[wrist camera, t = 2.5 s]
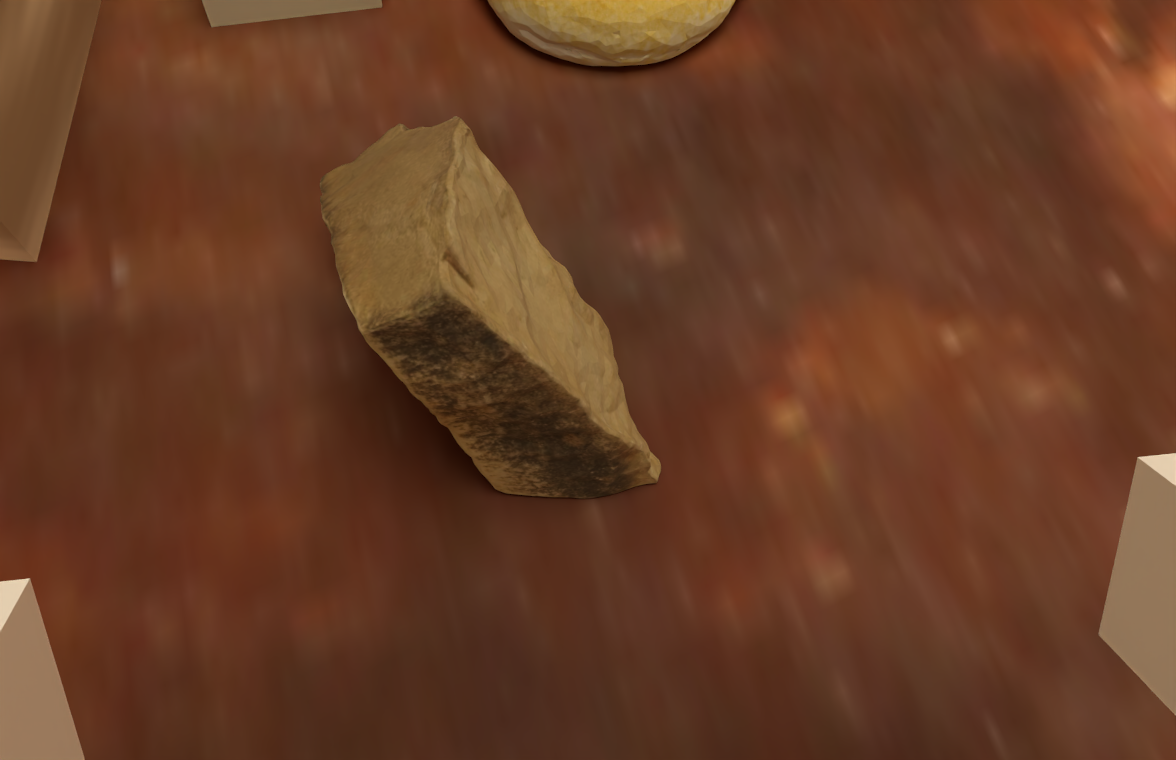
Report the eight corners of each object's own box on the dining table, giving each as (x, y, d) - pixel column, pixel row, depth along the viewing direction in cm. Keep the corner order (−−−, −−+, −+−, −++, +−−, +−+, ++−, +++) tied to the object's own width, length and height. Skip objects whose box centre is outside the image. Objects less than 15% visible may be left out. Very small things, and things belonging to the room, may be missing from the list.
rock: (225, 114, 27) (186, 470, 22) (411, -115, 22) (410, 290, 17) (545, 255, 34) (566, 551, 29) (748, 107, 28) (814, 441, 24)
